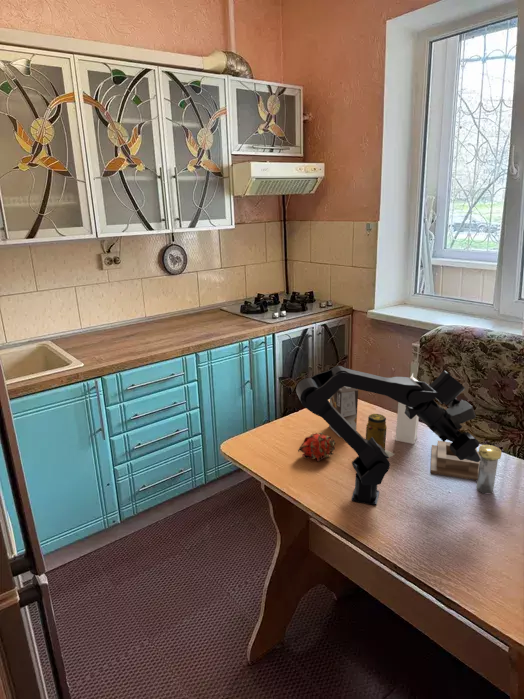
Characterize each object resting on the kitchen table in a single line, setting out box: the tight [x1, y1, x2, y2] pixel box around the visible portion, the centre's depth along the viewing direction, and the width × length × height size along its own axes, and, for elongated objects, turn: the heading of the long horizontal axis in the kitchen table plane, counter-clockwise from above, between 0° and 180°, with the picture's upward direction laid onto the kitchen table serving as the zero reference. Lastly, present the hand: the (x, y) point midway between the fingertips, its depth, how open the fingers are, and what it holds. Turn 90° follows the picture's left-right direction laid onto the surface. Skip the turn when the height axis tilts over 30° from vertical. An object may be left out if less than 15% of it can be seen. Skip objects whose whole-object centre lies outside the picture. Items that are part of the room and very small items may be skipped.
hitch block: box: [430, 440, 481, 481], centre depth 145 cm, size 16×14×4 cm
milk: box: [395, 373, 420, 445], centre depth 158 cm, size 6×6×22 cm
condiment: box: [365, 413, 396, 459], centre depth 151 cm, size 7×8×12 cm
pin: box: [476, 444, 503, 494], centre depth 131 cm, size 5×5×12 cm
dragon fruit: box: [297, 432, 336, 462], centre depth 149 cm, size 8×8×12 cm
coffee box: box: [328, 386, 359, 438], centre depth 165 cm, size 9×6×16 cm
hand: (470, 451), depth 129 cm, fingers open, 9 cm apart
